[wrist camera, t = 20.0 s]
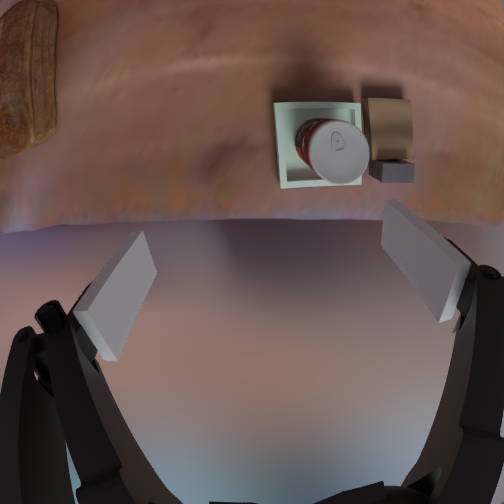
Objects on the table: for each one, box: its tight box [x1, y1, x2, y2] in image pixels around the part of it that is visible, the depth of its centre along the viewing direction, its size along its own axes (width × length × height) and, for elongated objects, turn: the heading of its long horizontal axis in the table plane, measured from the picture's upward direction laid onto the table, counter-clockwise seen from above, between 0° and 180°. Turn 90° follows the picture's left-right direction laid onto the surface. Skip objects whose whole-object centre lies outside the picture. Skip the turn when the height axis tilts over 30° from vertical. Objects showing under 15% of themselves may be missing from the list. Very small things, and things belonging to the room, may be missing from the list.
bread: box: [0, 0, 58, 159], centre depth 24 cm, size 12×31×14 cm, turn 2°
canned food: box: [295, 118, 369, 185], centre depth 34 cm, size 8×8×11 cm
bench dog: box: [369, 159, 414, 183], centre depth 38 cm, size 3×6×5 cm, turn 95°
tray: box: [273, 102, 362, 189], centre depth 38 cm, size 13×13×2 cm
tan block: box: [361, 98, 413, 160], centre depth 36 cm, size 10×8×3 cm
